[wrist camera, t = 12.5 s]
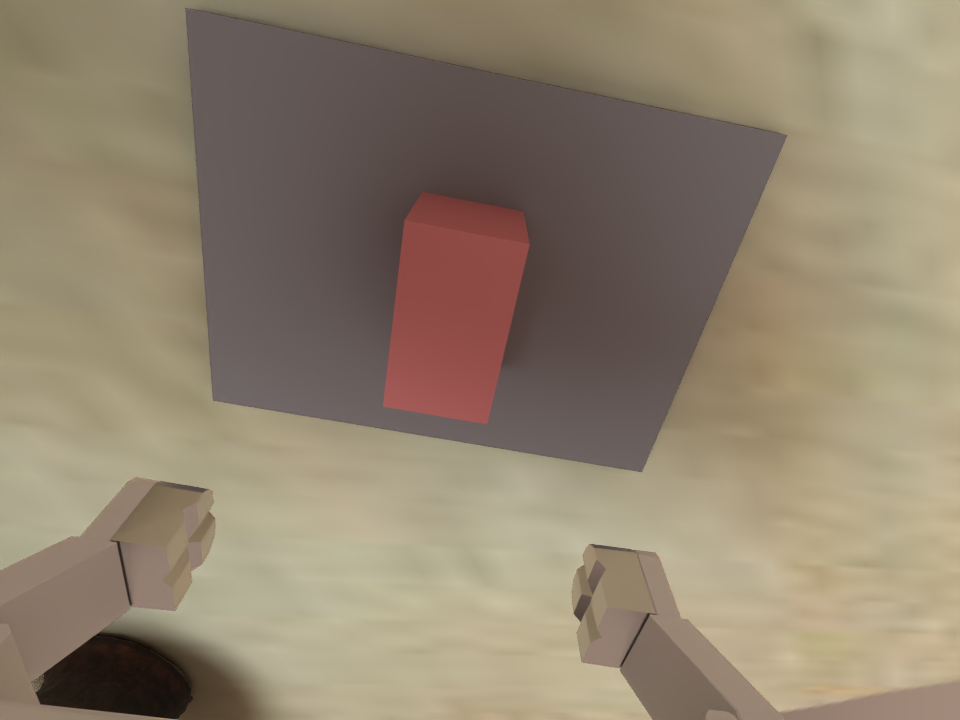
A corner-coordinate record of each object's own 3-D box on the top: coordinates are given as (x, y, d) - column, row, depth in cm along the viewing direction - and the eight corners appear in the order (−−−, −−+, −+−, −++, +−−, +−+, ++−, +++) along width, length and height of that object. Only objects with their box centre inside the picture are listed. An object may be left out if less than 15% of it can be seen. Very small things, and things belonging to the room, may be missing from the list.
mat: (219, 392, 29) (213, 400, 29) (196, 10, 21) (185, 7, 20) (638, 462, 31) (641, 472, 30) (778, 133, 22) (787, 135, 21)
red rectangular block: (422, 191, 23) (404, 220, 19) (523, 211, 23) (529, 244, 19) (401, 351, 27) (382, 406, 22) (488, 367, 27) (487, 424, 23)
